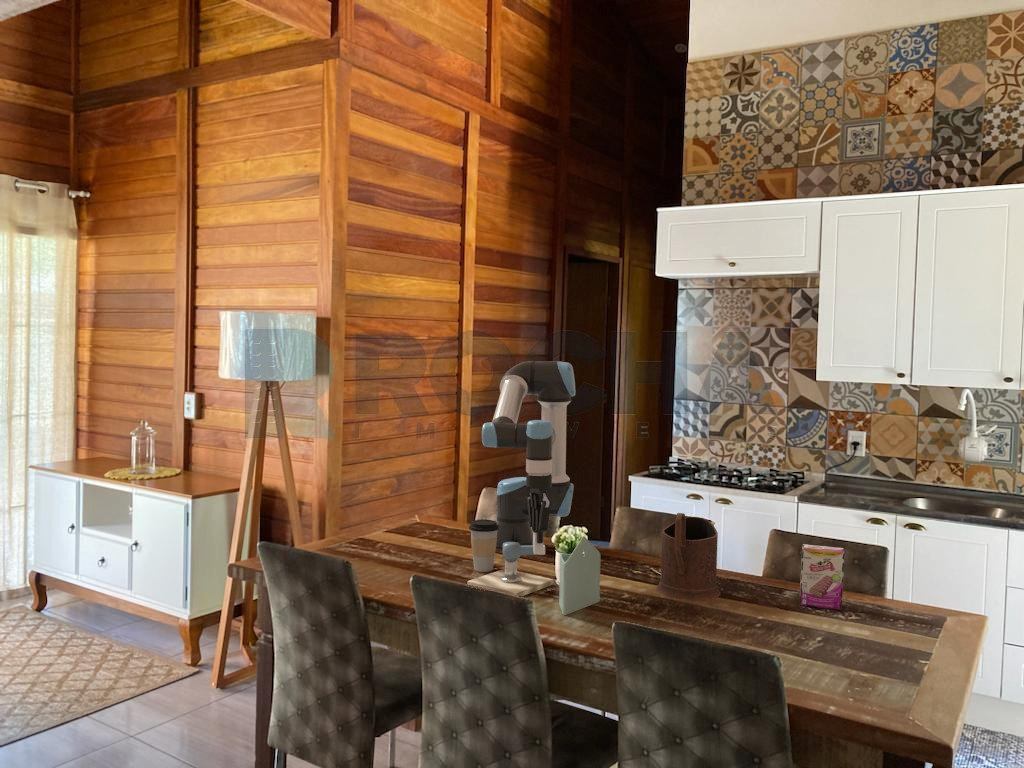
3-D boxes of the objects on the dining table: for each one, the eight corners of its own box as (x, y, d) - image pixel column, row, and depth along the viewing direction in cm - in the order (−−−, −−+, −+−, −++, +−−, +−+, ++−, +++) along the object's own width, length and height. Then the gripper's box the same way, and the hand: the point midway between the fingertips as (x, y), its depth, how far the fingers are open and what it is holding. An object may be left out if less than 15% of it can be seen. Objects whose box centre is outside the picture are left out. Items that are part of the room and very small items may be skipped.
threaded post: (508, 576, 258) (509, 554, 258) (524, 579, 254) (525, 558, 254) (496, 580, 253) (496, 558, 253) (512, 584, 249) (512, 562, 249)
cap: (504, 559, 250) (504, 546, 250) (501, 555, 255) (501, 542, 255) (546, 558, 253) (546, 545, 252) (542, 554, 258) (542, 541, 257)
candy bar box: (799, 606, 239) (801, 547, 238) (799, 601, 243) (801, 543, 243) (842, 611, 235) (844, 551, 234) (842, 605, 240) (844, 547, 239)
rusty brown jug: (726, 587, 256) (729, 503, 255) (709, 609, 234) (711, 518, 233) (665, 578, 264) (667, 497, 262) (642, 600, 242) (645, 511, 240)
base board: (505, 573, 266) (505, 568, 266) (553, 584, 255) (553, 579, 255) (467, 586, 252) (467, 581, 252) (516, 598, 241) (516, 593, 241)
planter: (576, 595, 245) (578, 526, 244) (600, 601, 240) (601, 531, 239) (541, 609, 232) (542, 536, 231) (564, 615, 227) (566, 541, 226)
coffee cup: (499, 566, 275) (500, 519, 274) (496, 574, 265) (497, 525, 264) (470, 564, 276) (471, 518, 275) (466, 572, 266) (466, 524, 265)
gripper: (560, 476, 247) (559, 557, 248) (541, 469, 259) (540, 547, 260) (536, 477, 244) (535, 560, 245) (518, 470, 256) (517, 549, 257)
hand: (538, 553), depth 253 cm, fingers closed
